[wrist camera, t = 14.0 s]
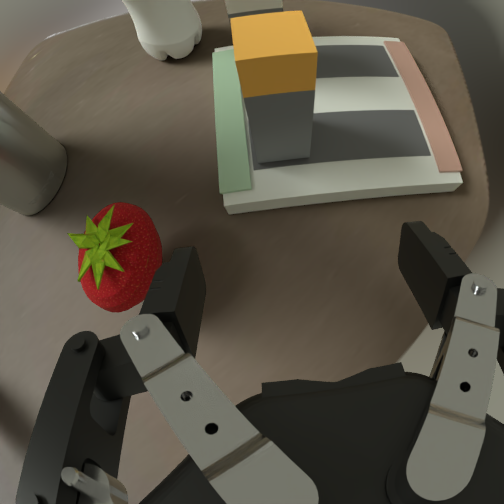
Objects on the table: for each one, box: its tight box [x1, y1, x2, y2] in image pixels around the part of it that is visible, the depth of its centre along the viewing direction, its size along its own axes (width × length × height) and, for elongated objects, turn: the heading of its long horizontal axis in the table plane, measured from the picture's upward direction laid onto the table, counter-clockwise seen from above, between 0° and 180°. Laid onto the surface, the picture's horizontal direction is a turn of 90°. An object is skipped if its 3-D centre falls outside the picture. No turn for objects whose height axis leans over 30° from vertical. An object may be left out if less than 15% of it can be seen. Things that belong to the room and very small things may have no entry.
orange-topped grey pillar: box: [230, 11, 318, 163], centre depth 19 cm, size 4×4×11 cm
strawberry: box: [67, 202, 162, 312], centre depth 21 cm, size 6×8×10 cm
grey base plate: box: [212, 0, 463, 214], centre depth 20 cm, size 20×18×13 cm
